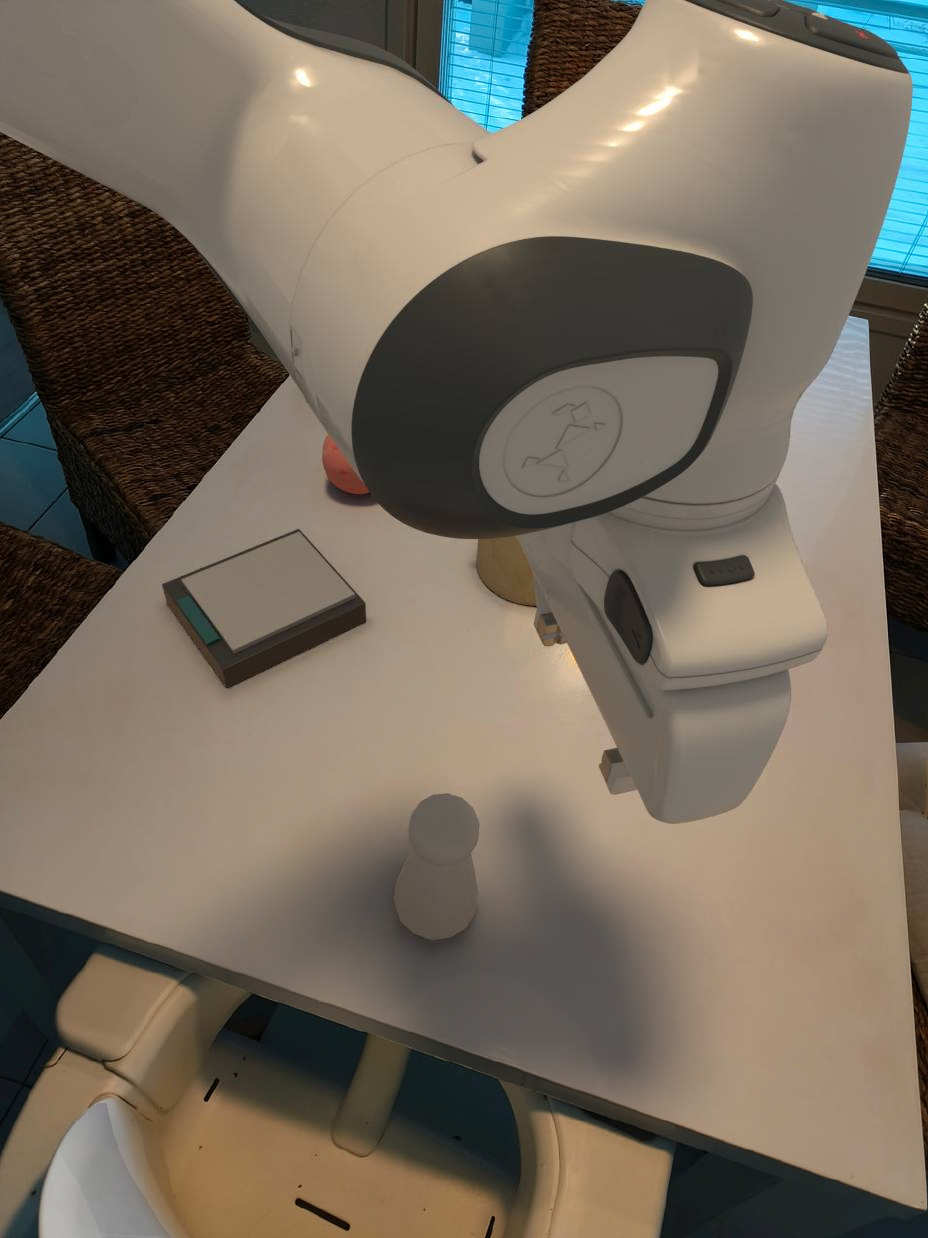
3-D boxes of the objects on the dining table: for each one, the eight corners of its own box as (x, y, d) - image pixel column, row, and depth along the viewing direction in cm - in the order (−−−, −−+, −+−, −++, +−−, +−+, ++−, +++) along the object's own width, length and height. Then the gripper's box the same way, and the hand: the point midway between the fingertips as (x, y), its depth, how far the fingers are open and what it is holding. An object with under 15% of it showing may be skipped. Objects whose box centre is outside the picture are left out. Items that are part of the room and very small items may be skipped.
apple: (383, 514, 89) (383, 451, 83) (315, 501, 89) (310, 438, 83) (400, 472, 94) (402, 410, 88) (336, 460, 94) (333, 397, 88)
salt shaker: (448, 968, 58) (461, 882, 48) (377, 924, 59) (377, 833, 50) (489, 898, 61) (510, 805, 52) (422, 858, 63) (429, 761, 53)
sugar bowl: (617, 537, 89) (651, 415, 78) (628, 614, 81) (667, 491, 70) (476, 526, 88) (489, 402, 77) (473, 603, 81) (488, 477, 70)
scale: (226, 688, 72) (221, 665, 70) (166, 603, 78) (160, 579, 76) (366, 621, 78) (365, 598, 76) (300, 547, 84) (298, 523, 82)
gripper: (492, 359, 39) (468, 573, 50) (688, 704, 26) (601, 899, 37) (616, 348, 41) (568, 558, 51) (859, 670, 28) (730, 866, 38)
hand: (583, 703), depth 44 cm, fingers open, 8 cm apart
